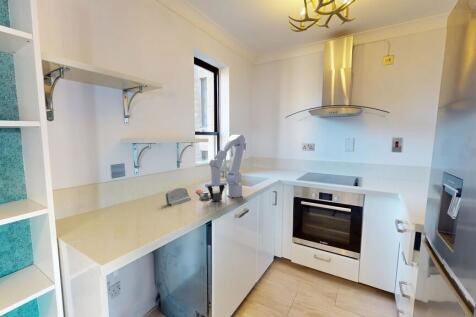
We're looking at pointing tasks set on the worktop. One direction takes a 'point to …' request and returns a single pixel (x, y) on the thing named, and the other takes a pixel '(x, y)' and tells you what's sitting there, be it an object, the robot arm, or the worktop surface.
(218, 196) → the brushed grey cube
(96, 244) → the worktop surface
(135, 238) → the worktop surface
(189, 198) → the white electronic device
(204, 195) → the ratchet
